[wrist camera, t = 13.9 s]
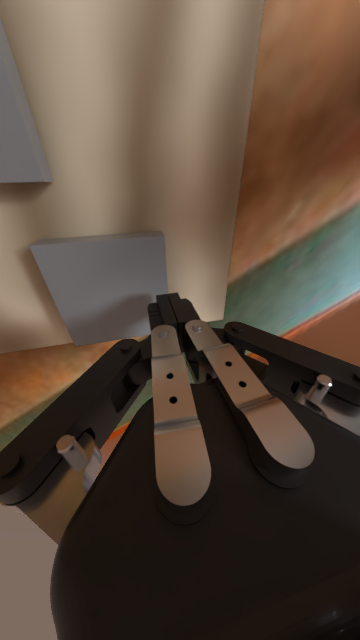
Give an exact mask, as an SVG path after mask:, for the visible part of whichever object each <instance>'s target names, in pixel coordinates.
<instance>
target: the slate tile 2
mask: <svg viewBox="0 0 360 640" xmlns="http://www.w3.org/2000/svg"><path fill="white" fill-rule="evenodd" d="M29 247H30V249H31V251H32V254H33V256H34V258H35V260H36V262H37V264H38V267H39V269H40V271H41V273H42V275H43V278H44V280H45V282H46V284H47V286H48V289H49V291H50V293H51V295H52V297H53V300H54V302H55V304H56V306H57V308H58V311H59V313H60V315H61V317H62V319H63V321H64V324H65V326H66V328H67V330H68V332H69V335H70V337H71V339H72V341H73V343H74V346H81V345H88V344H94V343H100V342H107V341H113V340H119V339H126V338H132V337H138V336H145V335H150V334H151V330H150V324H149V317H148V310H147V307H148V305H149V303H155V302H156V295H162V294H168V282H167V266H166V251H165V236H164V234H163V233H162V232H161V231H153V232H139V233H124V234H110V235H95V236H81V237H66V238H52V239H39V240H37V241H35V242H34V243H32V244H31V245H29Z"/></svg>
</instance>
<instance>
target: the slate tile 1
mask: <svg viewBox="0 0 360 640" xmlns="http://www.w3.org/2000/svg"><path fill="white" fill-rule="evenodd" d="M25 182H54V181H53V178H52V175H51V172H50V169H49V166H48V163H47V159H46V156H45V153H44V150H43V147H42V144H41V141H40V138H39V135H38V132H37V129H36V126H35V122H34V119H33V116H32V113H31V110H30V107H29V104H28V101H27V98H26V95H25V92H24V89H23V86H22V82H21V79H20V76H19V73H18V70H17V67H16V64H15V61H14V58H13V55H12V52H11V49H10V45H9V42H8V39H7V36H6V33H5V30H4V27H3V24H2V21H1V18H0V183H25Z"/></svg>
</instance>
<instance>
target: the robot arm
mask: <svg viewBox="0 0 360 640" xmlns="http://www.w3.org/2000/svg"><path fill="white" fill-rule="evenodd" d="M147 310H148V317H149V324H150V330H151V334H150V336H149V337H148V338H147V339H145V340H143V341H141V342H138V341H136V340H134V339H123V340H121V341H119V342H117V343H116V344H115V345H113V346H112V347H111V348H110V349H109V350H108V351H107V352H106V353H105V354H104V355H103V356H102V357H101V358H100V359H99V360H98V361H96V362H95V363H94V364H93V365H92V366H91V367H90V368H89V369H88V370H87V371H86V372H85V373H84V374H83V375H82V376H81V377H79V378H78V379H77V380H76V381H75V382H74V383H73V384H72V385H71V386H70V387H69V388H68V389H67V390H66V391H65V392H64V393H62V394H61V395H60V396H59V397H58V398H57V399H56V400H55V401H54V402H53V403H52V404H51V405H50V406H49V407H48V408H47V409H45V410H44V411H43V412H42V413H41V414H40V415H39V416H38V417H37V418H36V419H35V420H34V421H33V422H32V423H31V424H30V425H28V426H27V427H26V428H25V429H24V430H23V431H22V432H21V433H20V434H19V435H18V436H17V437H16V438H15V439H14V440H12V441H11V442H10V443H9V444H8V445H7V446H6V447H5V448H4V449H3V450H2V451H1V452H0V504H1V505H3V506H5V507H8V508H10V509H12V510H14V511H16V512H18V513H20V514H24V515H27V516H28V517H29V518H30V519H31V520H32V521H33V522H34V523H35V524H36V525H37V526H38V527H39V528H41V529H42V530H43V531H44V532H45V533H46V534H47V535H48V536H49V537H50V538H51V539H52V540H54V542H56V543H57V544H58V545H59V546H58V549H57V552H56V555H55V559H54V564H53V569H52V575H51V586H50V599H51V600H50V601H51V610H52V615H53V619H54V624H55V627H56V632H57V637H58V640H360V367H358V366H355V365H353V364H350V363H348V362H345V361H342V360H340V359H337V358H334V357H332V356H329V355H326V354H323V353H321V352H318V351H316V350H313V349H310V348H307V347H305V346H302V345H300V344H297V343H294V342H292V341H289V340H286V339H284V338H281V337H278V336H276V335H273V334H270V333H268V332H265V331H262V330H260V329H257V328H254V327H252V326H249V325H246V324H244V323H241V322H229V323H227V324H226V325H225V326H224V329H219V328H211V327H210V326H209V324H208V323H207V322H205V321H202V320H201V319H200V317H199V315H198V313H197V312H196V310H195V308H194V306H193V305H192V303H191V301H189V300H188V299H186V298H184V299H181V298H180V296H179V294H178V292H176V293H169V294H162V295H156V302H155V303H149V305H148V307H147ZM245 350H248V351H250V352H252V353H255V354H257V355H259V356H261V357H264V358H265V359H267V360H268V362H269V365H266V364H264V363H262V362H259V361H257V360H255V359H253V358H251V357H249V356H246V355H245ZM183 352H185V355H186V364H187V366H188V368H189V371H190V373H191V375H192V377H193V379H194V382H195V384H190V382H189V378H188V374H187V369H186V365H185V361H184V356H183V354H182V353H183ZM151 378H152V383H153V397H152V398H151V399H149V400H148V401H147V402H146V403H145V404H144V405H143V406H142V407H141V408H140V409H139V410H138V411H137V413H136V414H135V416H134V418H133V419H132V421H131V422H130V424H129V426H128V427H127V429H126V431H125V432H124V434H123V435H122V437H121V439H120V440H119V442H118V444H117V445H116V447H115V449H114V450H113V452H112V453H111V455H110V457H109V458H108V460H107V462H106V463H105V465H104V467H103V468H102V470H101V471H100V473H99V475H98V476H97V478H96V479H95V477H96V475H97V473H98V471H99V469H100V466H101V463H102V454H101V451H100V449H101V447H102V446H103V445H104V443H105V442H106V440H107V439H108V438H109V436H110V435H111V433H112V432H113V430H114V429H115V428H116V426H117V425H118V423H119V422H120V421H121V419H122V418H123V416H124V415H125V413H126V412H127V411H128V409H129V408H130V406H131V405H132V404H133V402H134V401H135V399H136V398H137V396H138V395H139V394H140V392H141V391H142V389H143V388H144V387H145V385H146V382H147V380H149V379H151ZM94 480H95V481H94Z"/></svg>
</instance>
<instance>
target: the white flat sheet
mask: <svg viewBox="0 0 360 640" xmlns="http://www.w3.org/2000/svg"><path fill="white" fill-rule="evenodd" d="M264 4H265V0H0V18H1V21H2V24H3V27H4V30H5V33H6V36H7V39H8V42H9V45H10V49H11V52H12V55H13V58H14V61H15V64H16V67H17V70H18V73H19V76H20V79H21V82H22V86H23V89H24V92H25V95H26V98H27V101H28V104H29V107H30V110H31V113H32V116H33V119H34V122H35V126H36V129H37V132H38V135H39V138H40V141H41V144H42V147H43V150H44V153H45V156H46V159H47V163H48V166H49V169H50V172H51V175H52V178H53V181H54V182H25V183H0V354H3V353H9V352H16V351H22V350H29V349H35V348H42V347H48V346H55V345H61V344H67V343H73V341H72V339H71V337H70V335H69V332H68V330H67V328H66V326H65V324H64V321H63V319H62V317H61V315H60V313H59V311H58V308H57V306H56V304H55V302H54V300H53V297H52V295H51V293H50V291H49V289H48V286H47V284H46V282H45V280H44V278H43V275H42V273H41V271H40V269H39V267H38V264H37V262H36V260H35V258H34V256H33V254H32V251H31V249H30V247H29V245H31V244H32V243H34V242H35V241H37V240H39V239H52V238H66V237H81V236H95V235H110V234H124V233H139V232H153V231H161V232H162V233H163V234H164V236H165V251H166V266H167V282H168V294H169V293H176V292H178V294H179V296H180V298H181V299H184V298H186V299H188V300H189V301H191V303H192V305H193V306H194V308H195V310H196V312H197V313H198V315H199V317H200V319H201V320H202V321H205V322H209V321H216V320H222V319H223V315H224V307H225V299H226V292H227V284H228V277H229V269H230V262H231V254H232V246H233V239H234V231H235V224H236V216H237V208H238V201H239V193H240V186H241V178H242V171H243V163H244V155H245V148H246V140H247V133H248V125H249V117H250V110H251V102H252V95H253V87H254V80H255V72H256V64H257V57H258V49H259V42H260V34H261V26H262V19H263V11H264Z"/></svg>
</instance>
